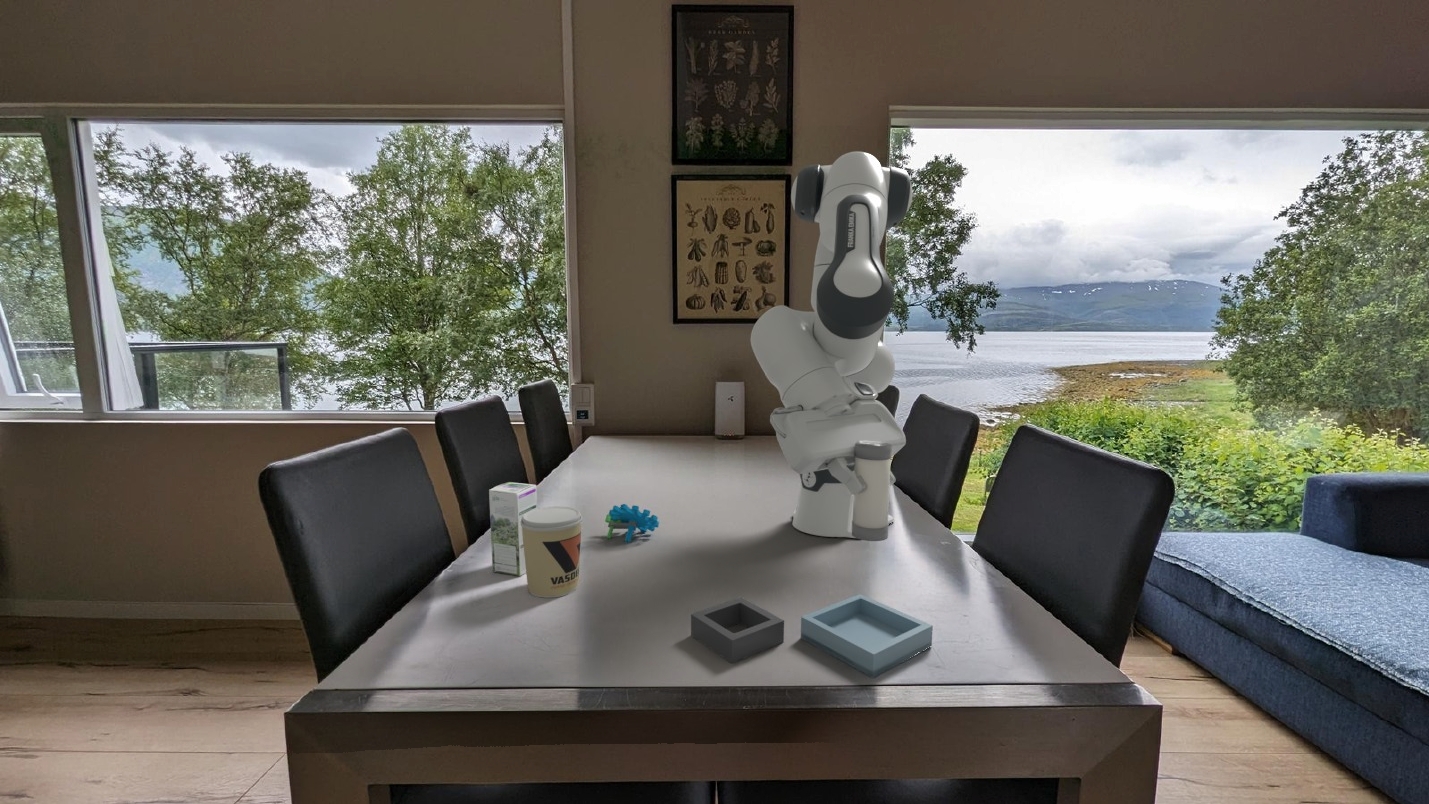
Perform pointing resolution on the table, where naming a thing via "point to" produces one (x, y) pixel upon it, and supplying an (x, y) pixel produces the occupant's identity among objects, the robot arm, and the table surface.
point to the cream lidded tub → (552, 550)
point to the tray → (866, 634)
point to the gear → (630, 520)
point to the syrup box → (509, 525)
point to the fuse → (872, 490)
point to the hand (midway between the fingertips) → (875, 488)
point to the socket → (742, 644)
